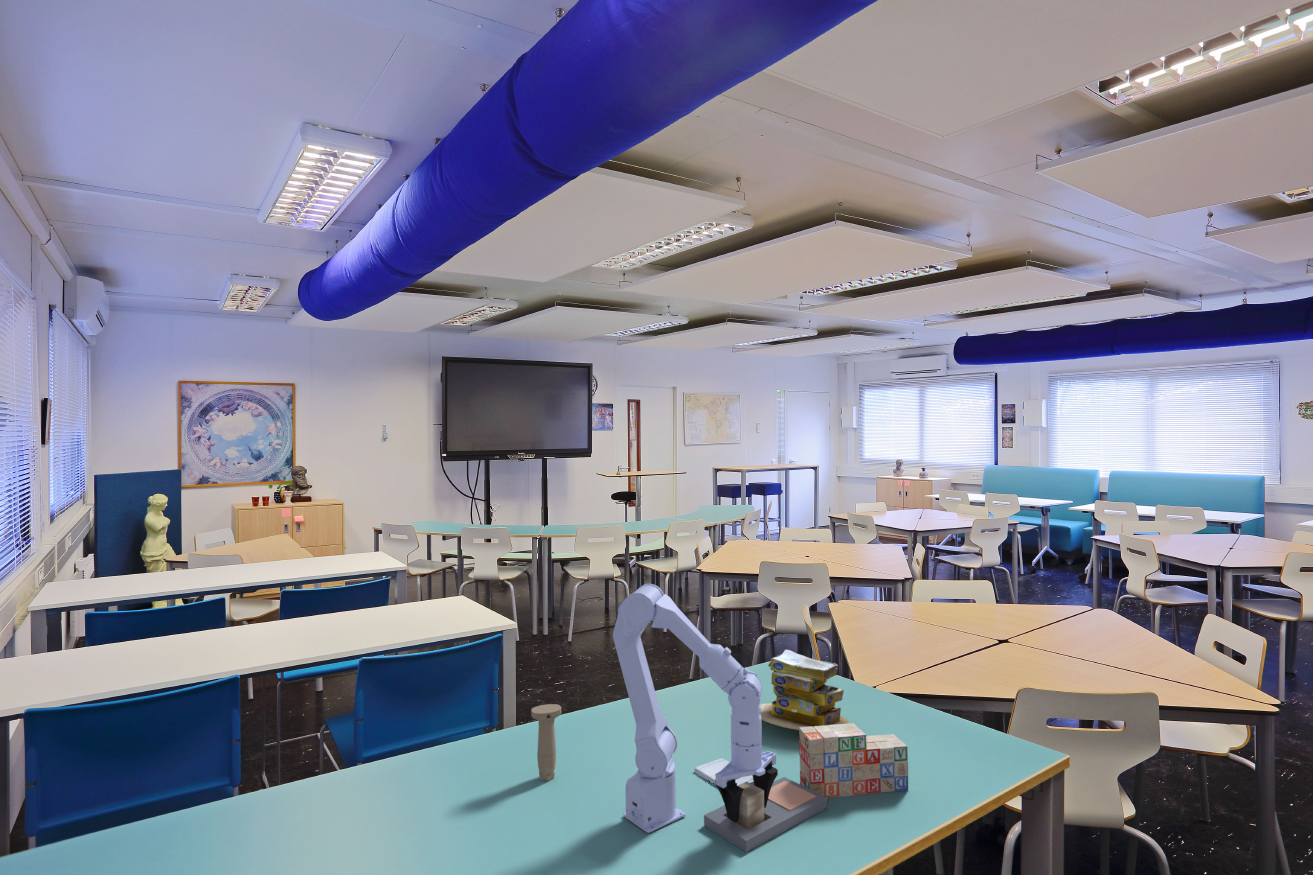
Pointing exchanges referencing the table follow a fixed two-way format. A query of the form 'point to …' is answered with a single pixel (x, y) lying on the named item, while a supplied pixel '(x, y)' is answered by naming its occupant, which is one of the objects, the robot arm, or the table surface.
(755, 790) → the maple block
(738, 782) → the hard drive
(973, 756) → the table surface
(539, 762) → the handle
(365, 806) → the table surface
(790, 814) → the kitting board
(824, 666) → the stack of yellow boxes
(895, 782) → the stack of blocks
